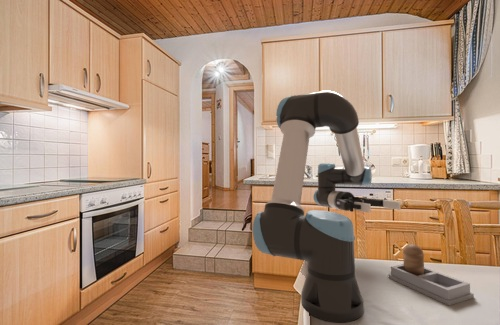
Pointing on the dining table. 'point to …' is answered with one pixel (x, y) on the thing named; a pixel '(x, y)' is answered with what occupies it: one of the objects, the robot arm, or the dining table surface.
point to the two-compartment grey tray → (433, 285)
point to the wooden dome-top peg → (413, 259)
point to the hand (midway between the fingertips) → (385, 207)
